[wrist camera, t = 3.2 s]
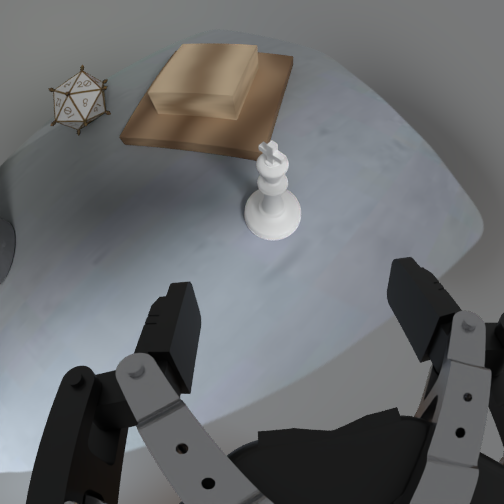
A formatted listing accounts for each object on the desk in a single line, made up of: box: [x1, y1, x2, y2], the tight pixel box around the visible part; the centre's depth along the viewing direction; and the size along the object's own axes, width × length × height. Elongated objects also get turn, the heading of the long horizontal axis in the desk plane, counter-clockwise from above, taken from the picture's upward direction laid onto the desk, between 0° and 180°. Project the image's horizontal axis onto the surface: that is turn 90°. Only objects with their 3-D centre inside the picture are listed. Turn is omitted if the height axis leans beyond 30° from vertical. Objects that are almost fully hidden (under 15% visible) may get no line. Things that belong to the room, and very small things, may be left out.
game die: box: [49, 65, 111, 136], centre depth 26 cm, size 9×8×10 cm
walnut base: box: [120, 44, 293, 161], centre depth 27 cm, size 16×16×5 cm
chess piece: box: [244, 140, 301, 240], centre depth 20 cm, size 5×5×10 cm
